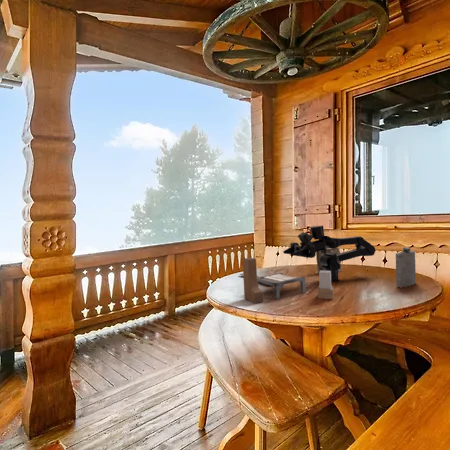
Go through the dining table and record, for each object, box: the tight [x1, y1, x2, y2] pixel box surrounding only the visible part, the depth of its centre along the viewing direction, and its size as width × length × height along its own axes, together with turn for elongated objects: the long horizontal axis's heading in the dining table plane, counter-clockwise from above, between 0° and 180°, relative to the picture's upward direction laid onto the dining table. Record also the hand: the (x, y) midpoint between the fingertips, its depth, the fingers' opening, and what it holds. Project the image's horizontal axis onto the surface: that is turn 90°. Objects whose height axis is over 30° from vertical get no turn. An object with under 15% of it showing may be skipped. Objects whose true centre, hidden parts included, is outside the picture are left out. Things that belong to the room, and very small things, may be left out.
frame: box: [257, 272, 306, 300], centre depth 146 cm, size 18×16×7 cm
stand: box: [317, 285, 335, 300], centre depth 135 cm, size 6×6×4 cm
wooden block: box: [242, 257, 265, 304], centre depth 134 cm, size 9×4×18 cm, turn 27°
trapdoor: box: [260, 273, 297, 288], centre depth 145 cm, size 12×12×3 cm
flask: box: [395, 247, 417, 288], centre depth 147 cm, size 4×14×18 cm, turn 124°
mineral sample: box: [315, 247, 343, 274], centre depth 186 cm, size 17×4×15 cm, turn 108°
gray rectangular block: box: [318, 271, 332, 289], centre depth 134 cm, size 4×4×7 cm
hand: (288, 253), depth 157 cm, fingers open, 9 cm apart
